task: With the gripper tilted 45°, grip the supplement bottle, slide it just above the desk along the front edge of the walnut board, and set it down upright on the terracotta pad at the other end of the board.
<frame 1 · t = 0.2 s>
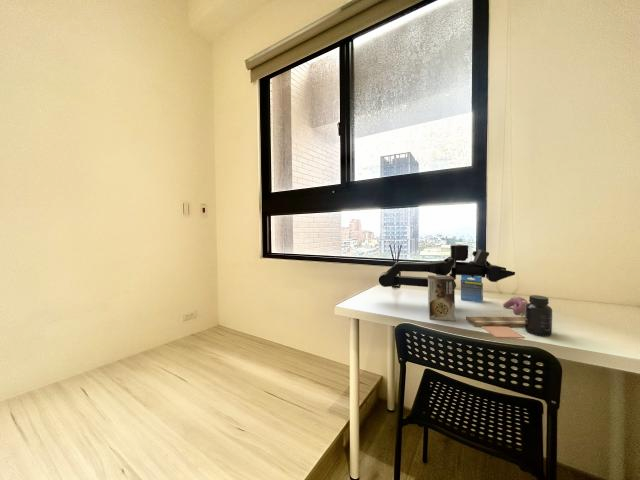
hand: (510, 271, 106), 17 cm above the table, tool horizontal, fingers open, 9 cm apart
end pad: (502, 332, 86), on the table
supplement bottle: (538, 333, 85), on the table
walnut board: (504, 323, 94), on the table
video game controller: (516, 311, 107), on the table
coffee box: (440, 317, 102), on the table
label tape box: (471, 301, 123), on the table
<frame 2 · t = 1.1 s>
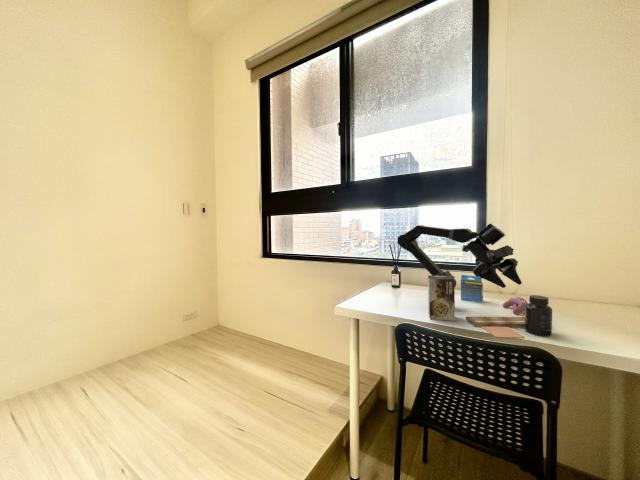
hand: (513, 285, 92), 14 cm above the table, tool tilted 45°, fingers open, 9 cm apart
nothing on the table moved.
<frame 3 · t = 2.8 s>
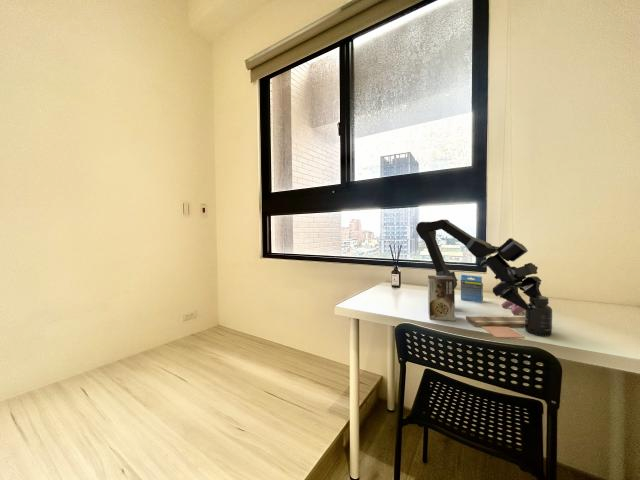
hand: (536, 307, 86), 8 cm above the table, tool tilted 45°, fingers open, 9 cm apart
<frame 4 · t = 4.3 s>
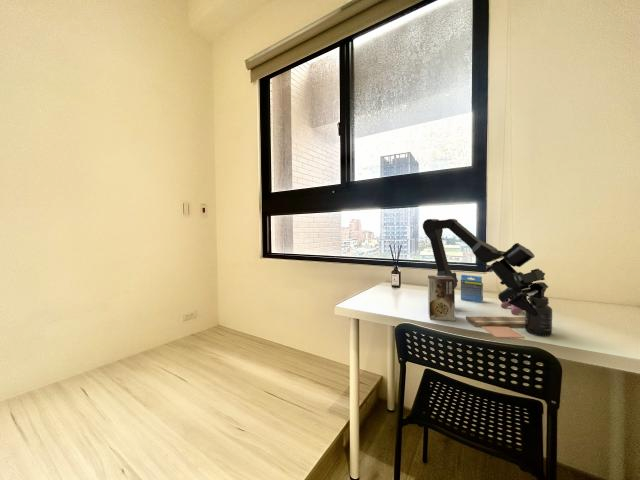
hand: (543, 314, 84), 7 cm above the table, tool tilted 45°, fingers closed on supplement bottle, 7 cm apart
supplement bottle: (538, 333, 85), on the table, touching gripper
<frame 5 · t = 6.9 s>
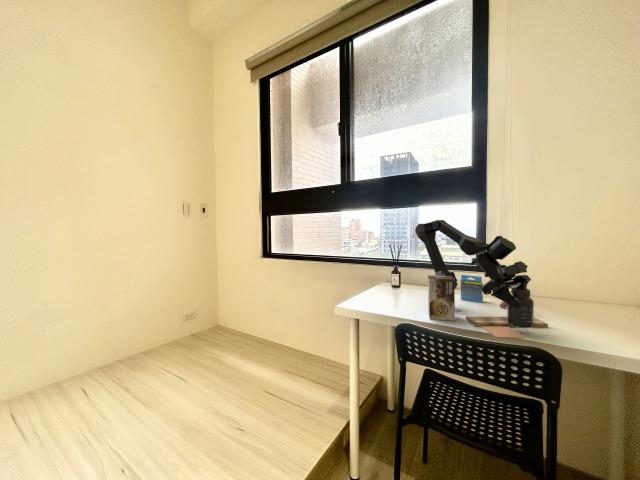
hand: (525, 306, 84), 9 cm above the table, tool tilted 45°, fingers closed on supplement bottle, 7 cm apart
supplement bottle: (519, 325, 86), point 2 cm above the table, touching gripper
when the fingers open (8 cm above the table, at t = 9.5 s): supplement bottle stays where it is, resting on end pad.
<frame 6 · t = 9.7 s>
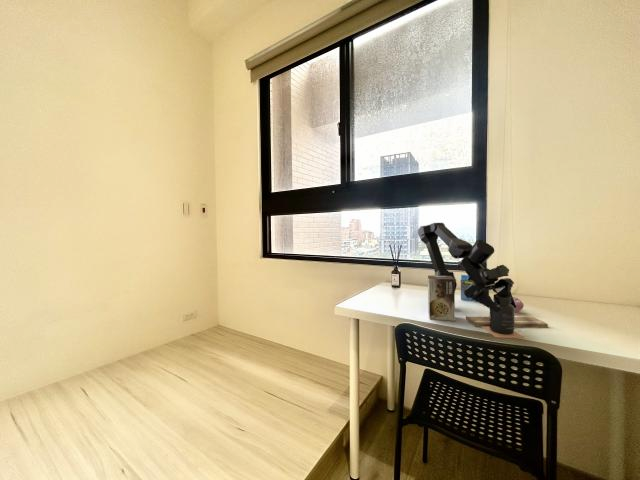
hand: (506, 309, 85), 8 cm above the table, tool tilted 45°, fingers open, 8 cm apart
supplement bottle: (501, 331, 87), resting on end pad
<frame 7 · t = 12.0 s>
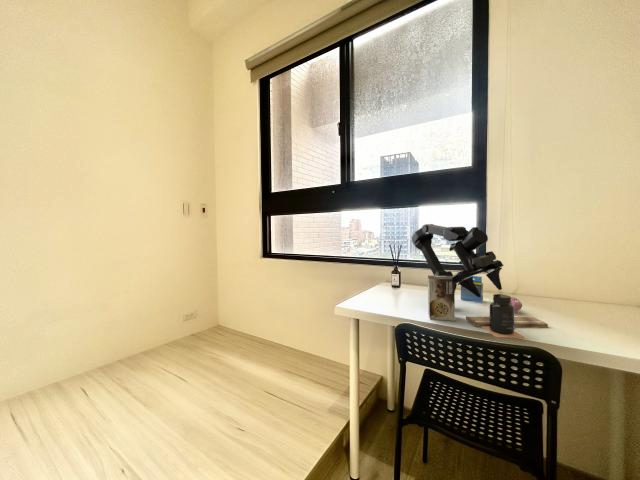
hand: (490, 293, 93), 11 cm above the table, tool tilted 35°, fingers open, 9 cm apart
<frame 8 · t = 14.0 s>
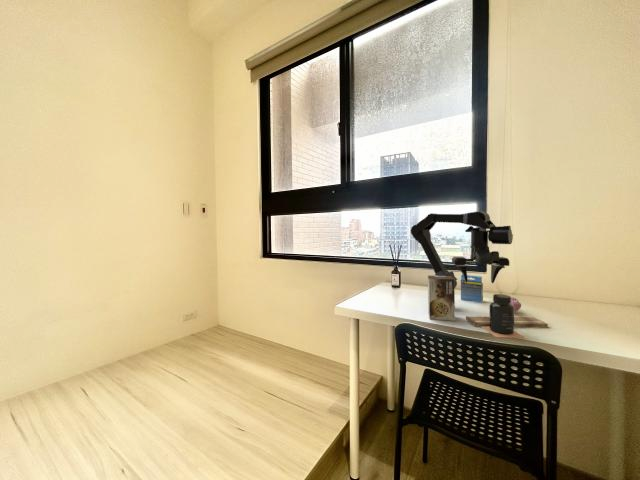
hand: (479, 282, 103), 13 cm above the table, tool pointing down, fingers open, 9 cm apart
at the end: supplement bottle 0.3 cm off-centre on the end pad, point 0.1 cm above the end pad's base; supplement bottle tilted 0°; the gripper is holding nothing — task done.
